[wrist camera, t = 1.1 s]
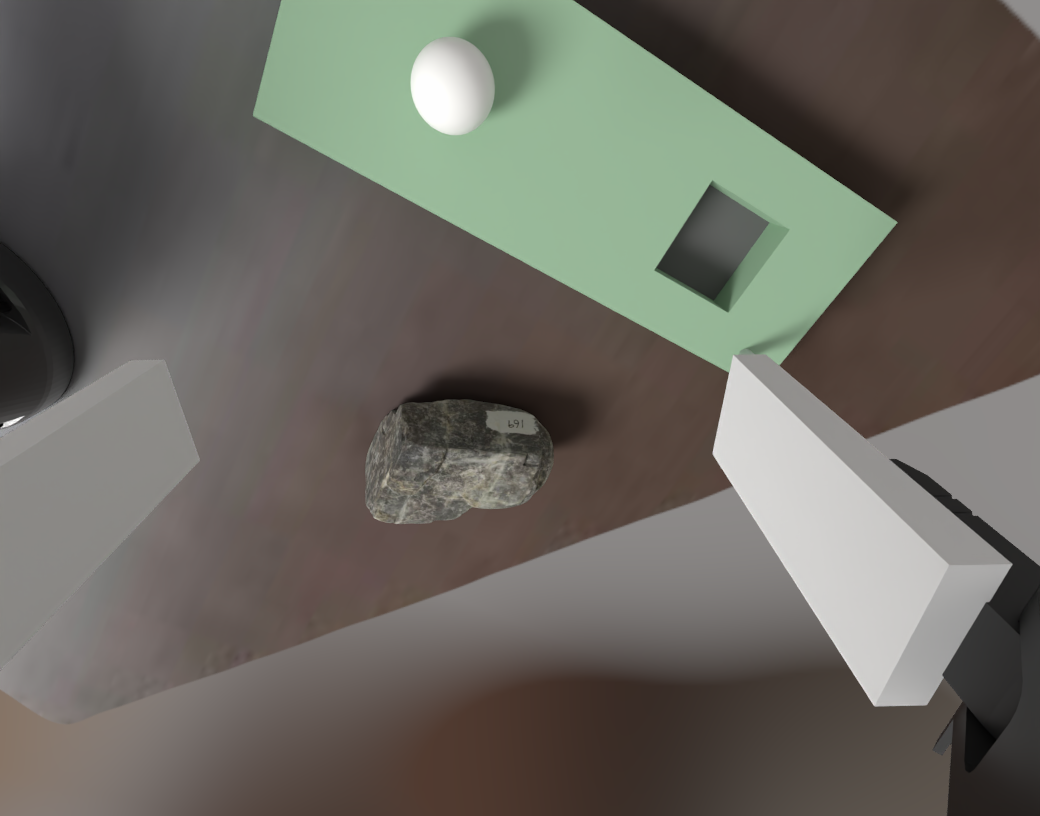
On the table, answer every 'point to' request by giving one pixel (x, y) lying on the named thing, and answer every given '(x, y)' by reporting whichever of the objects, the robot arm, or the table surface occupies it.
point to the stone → (454, 460)
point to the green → (581, 165)
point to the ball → (452, 85)
